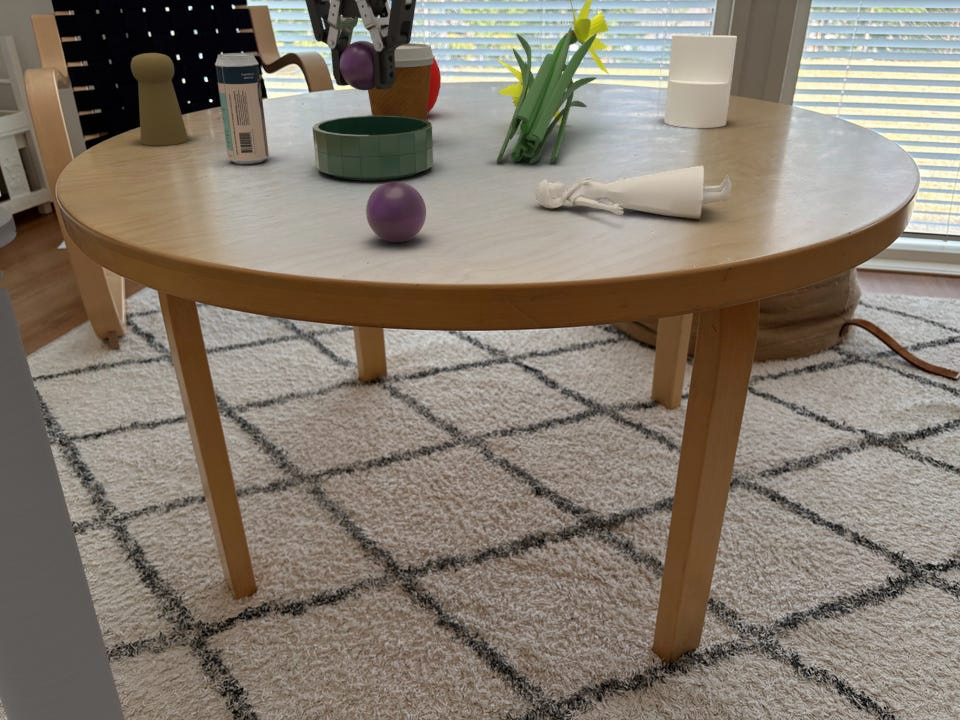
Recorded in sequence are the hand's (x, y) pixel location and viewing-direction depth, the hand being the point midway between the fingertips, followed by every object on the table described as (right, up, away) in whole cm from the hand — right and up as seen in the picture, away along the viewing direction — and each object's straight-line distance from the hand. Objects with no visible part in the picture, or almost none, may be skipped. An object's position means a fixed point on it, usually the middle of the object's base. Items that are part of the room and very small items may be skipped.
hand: (364, 85), depth 88 cm
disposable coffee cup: (+2, -1, +19) cm, 19 cm away
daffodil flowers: (+22, -1, +20) cm, 30 cm away
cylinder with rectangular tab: (+44, +5, +33) cm, 56 cm away
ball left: (0, 0, 0) cm, 0 cm away
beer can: (-15, -6, +10) cm, 19 cm away
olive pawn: (-30, -1, +21) cm, 36 cm away
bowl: (0, -8, +5) cm, 9 cm away
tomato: (+1, +8, +38) cm, 39 cm away
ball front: (+5, -20, -19) cm, 28 cm away
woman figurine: (+27, -16, -11) cm, 33 cm away
